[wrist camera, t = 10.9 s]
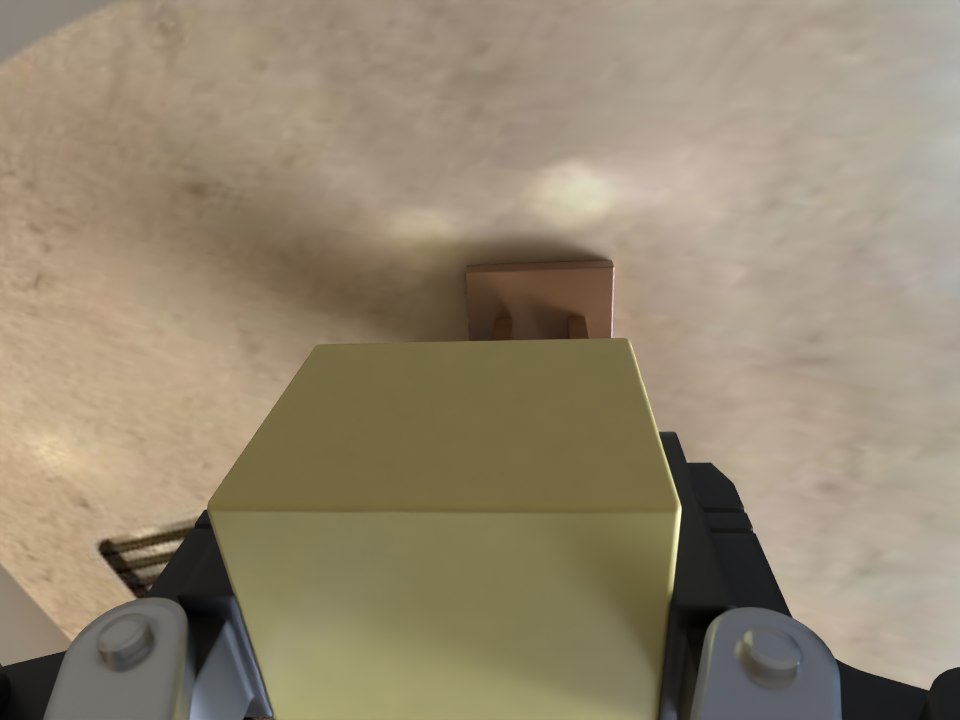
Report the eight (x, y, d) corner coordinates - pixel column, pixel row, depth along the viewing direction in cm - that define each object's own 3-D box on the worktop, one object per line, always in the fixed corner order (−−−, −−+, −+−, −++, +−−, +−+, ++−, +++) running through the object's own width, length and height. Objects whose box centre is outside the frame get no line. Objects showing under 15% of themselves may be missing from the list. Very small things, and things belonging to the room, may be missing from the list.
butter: (359, 570, 13) (291, 783, 9) (315, 342, 10) (201, 506, 7) (617, 574, 12) (652, 799, 9) (630, 335, 10) (684, 506, 6)
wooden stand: (466, 264, 36) (431, 388, 24) (612, 259, 35) (654, 383, 23) (478, 417, 40) (453, 586, 28) (607, 415, 40) (640, 588, 27)
